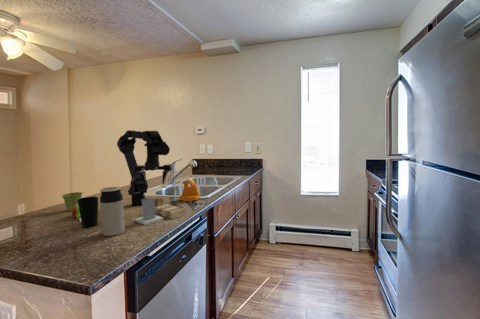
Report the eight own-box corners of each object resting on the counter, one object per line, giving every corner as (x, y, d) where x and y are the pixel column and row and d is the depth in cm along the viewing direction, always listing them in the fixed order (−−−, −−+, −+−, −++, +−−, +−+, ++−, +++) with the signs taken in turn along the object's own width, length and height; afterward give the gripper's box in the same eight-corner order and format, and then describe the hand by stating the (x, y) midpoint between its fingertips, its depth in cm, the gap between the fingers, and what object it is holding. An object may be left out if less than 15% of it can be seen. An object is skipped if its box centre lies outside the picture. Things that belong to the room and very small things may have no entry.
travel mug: (110, 238, 97) (106, 191, 96) (98, 234, 102) (95, 189, 100) (128, 231, 104) (126, 187, 103) (117, 228, 108) (114, 185, 107)
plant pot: (58, 211, 135) (57, 195, 135) (76, 206, 144) (74, 191, 143) (71, 213, 132) (69, 196, 131) (87, 208, 141) (86, 192, 140)
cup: (78, 230, 107) (76, 201, 106) (80, 224, 113) (78, 198, 112) (99, 226, 110) (97, 199, 109) (100, 221, 117) (98, 195, 116)
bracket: (178, 201, 152) (177, 181, 150) (183, 198, 159) (182, 179, 158) (196, 201, 150) (195, 181, 149) (200, 198, 157) (199, 179, 156)
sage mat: (134, 220, 117) (134, 218, 117) (152, 216, 124) (152, 214, 124) (145, 225, 111) (144, 222, 111) (163, 219, 118) (163, 217, 118)
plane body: (149, 211, 132) (148, 198, 131) (161, 208, 137) (161, 196, 137) (172, 218, 119) (171, 205, 118) (184, 215, 124) (184, 201, 124)
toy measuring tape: (87, 212, 133) (86, 200, 132) (91, 222, 117) (90, 208, 116) (72, 215, 129) (71, 202, 128) (74, 225, 113) (73, 210, 112)
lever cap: (142, 217, 118) (141, 198, 117) (153, 216, 120) (152, 197, 120) (143, 220, 115) (142, 200, 114) (155, 218, 117) (154, 198, 117)
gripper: (129, 156, 126) (130, 188, 127) (167, 155, 127) (169, 186, 129) (136, 154, 137) (138, 183, 138) (172, 153, 138) (173, 182, 140)
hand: (154, 184), depth 136 cm, fingers open, 9 cm apart
